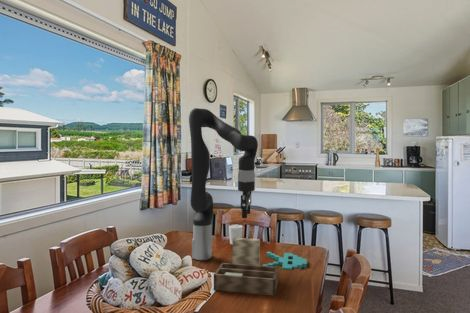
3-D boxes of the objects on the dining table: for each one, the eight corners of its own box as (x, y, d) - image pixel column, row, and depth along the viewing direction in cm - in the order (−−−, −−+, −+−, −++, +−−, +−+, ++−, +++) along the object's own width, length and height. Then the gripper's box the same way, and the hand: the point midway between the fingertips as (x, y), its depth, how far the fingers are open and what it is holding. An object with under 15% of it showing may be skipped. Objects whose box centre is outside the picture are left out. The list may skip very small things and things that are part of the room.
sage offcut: (223, 288, 130) (223, 276, 130) (225, 284, 134) (225, 272, 134) (240, 290, 128) (240, 277, 128) (242, 285, 132) (242, 273, 132)
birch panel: (232, 272, 149) (232, 239, 148) (234, 269, 152) (233, 237, 151) (258, 274, 146) (259, 240, 146) (259, 271, 149) (259, 239, 149)
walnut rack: (213, 292, 129) (213, 274, 129) (221, 278, 142) (221, 262, 141) (275, 298, 124) (275, 279, 124) (277, 283, 137) (278, 266, 136)
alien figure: (262, 270, 152) (306, 274, 148) (262, 266, 151) (307, 269, 147) (267, 255, 171) (306, 258, 167) (267, 251, 171) (306, 254, 167)
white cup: (238, 246, 185) (237, 228, 185) (226, 244, 190) (226, 226, 189) (245, 242, 192) (245, 225, 192) (233, 240, 196) (233, 224, 196)
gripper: (241, 178, 155) (240, 212, 156) (234, 181, 141) (234, 219, 142) (256, 178, 153) (256, 213, 154) (252, 182, 139) (252, 220, 140)
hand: (246, 215), depth 148 cm, fingers open, 8 cm apart
